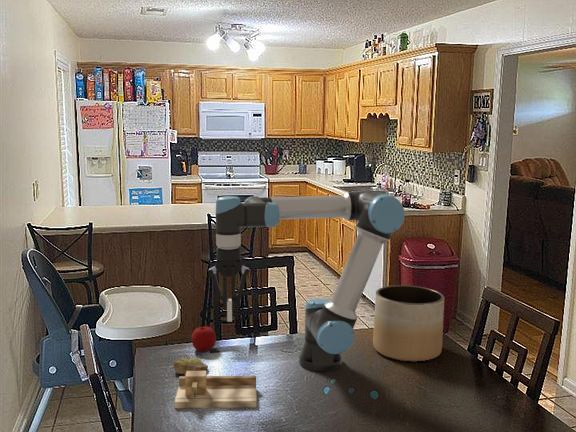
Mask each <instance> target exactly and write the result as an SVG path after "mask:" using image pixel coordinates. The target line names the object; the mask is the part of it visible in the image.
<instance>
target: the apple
mask: <svg viewBox="0 0 576 432" xmlns="http://www.w3.org/2000/svg"><path fill="white" fill-rule="evenodd" d="M216 342H217V336H216V331H215V330H214V329H213V328H212V327H210V326H203V325H202V324H200V326H199V327H197V328H195V330H194V331H193V332H192V334H191V344H192V346H193V347H194V349H195V350H196V351H198V352H200V353H203V352H209V351H211V350H212V349H213V348H214V347H215V346H216Z"/></svg>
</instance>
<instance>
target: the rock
mask: <svg viewBox="0 0 576 432" xmlns="http://www.w3.org/2000/svg"><path fill="white" fill-rule="evenodd" d="M172 366H173V369H174V371H175V372H176V373H177V374H178V375H184V376H185V375H186V371H206V370H207V369H208V368H209V365H207V364H206V363H204V361H202V360H201V359H200V358H199V357H185V358H179V359H177V360H176V362H173V365H172Z"/></svg>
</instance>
